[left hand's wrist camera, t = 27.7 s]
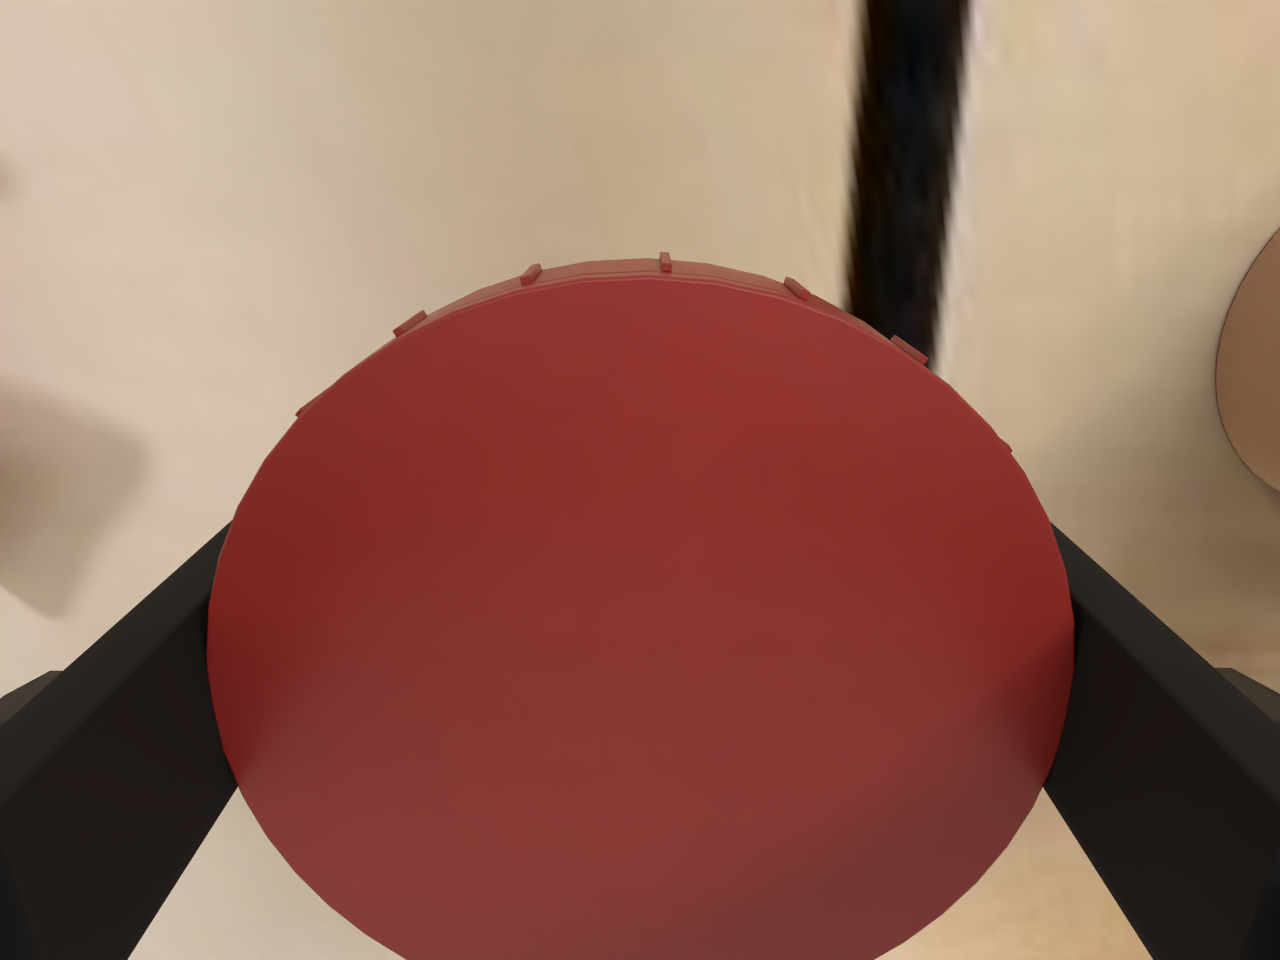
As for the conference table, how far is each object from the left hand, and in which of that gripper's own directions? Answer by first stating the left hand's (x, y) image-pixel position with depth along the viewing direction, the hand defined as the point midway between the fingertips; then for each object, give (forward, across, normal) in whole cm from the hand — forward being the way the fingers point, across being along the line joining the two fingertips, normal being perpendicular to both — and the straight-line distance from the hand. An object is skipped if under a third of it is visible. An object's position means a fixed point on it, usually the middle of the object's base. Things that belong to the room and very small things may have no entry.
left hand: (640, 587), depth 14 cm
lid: (-3, 0, 0) cm, 3 cm away
